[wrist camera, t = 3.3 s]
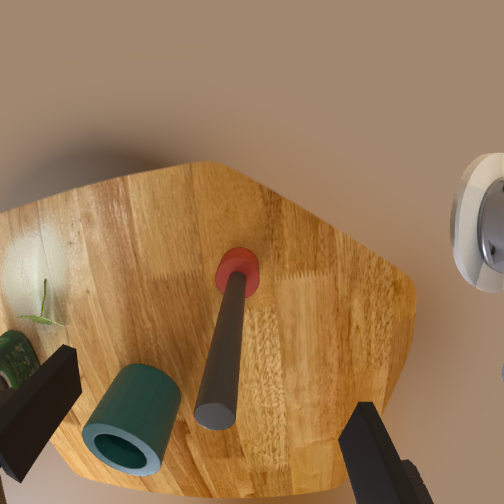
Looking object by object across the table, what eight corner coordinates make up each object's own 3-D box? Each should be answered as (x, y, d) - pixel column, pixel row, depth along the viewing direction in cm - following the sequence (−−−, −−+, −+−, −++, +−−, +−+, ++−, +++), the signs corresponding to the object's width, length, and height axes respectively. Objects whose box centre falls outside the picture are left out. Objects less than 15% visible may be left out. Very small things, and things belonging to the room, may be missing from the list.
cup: (183, 373, 38) (160, 440, 25) (178, 421, 40) (160, 483, 28) (115, 355, 38) (75, 411, 25) (118, 404, 40) (89, 459, 27)
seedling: (67, 288, 41) (61, 328, 38) (23, 275, 35) (16, 316, 33) (76, 285, 36) (69, 331, 34) (25, 269, 30) (17, 318, 28)
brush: (262, 251, 34) (278, 388, 11) (254, 287, 35) (255, 453, 12) (224, 244, 34) (165, 367, 10) (217, 280, 35) (163, 436, 11)
